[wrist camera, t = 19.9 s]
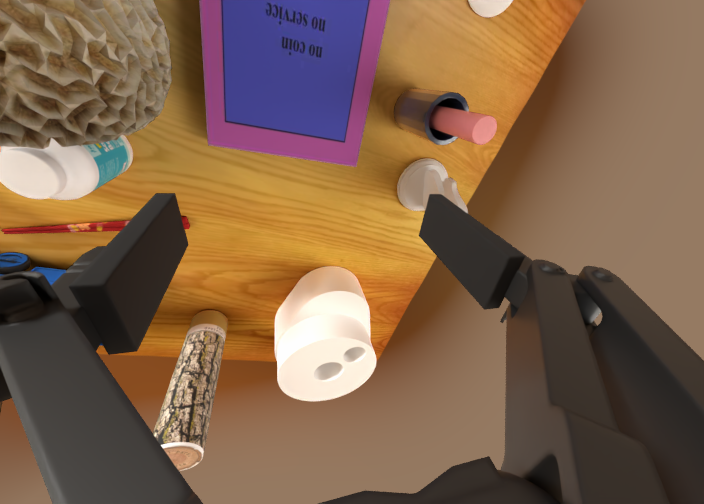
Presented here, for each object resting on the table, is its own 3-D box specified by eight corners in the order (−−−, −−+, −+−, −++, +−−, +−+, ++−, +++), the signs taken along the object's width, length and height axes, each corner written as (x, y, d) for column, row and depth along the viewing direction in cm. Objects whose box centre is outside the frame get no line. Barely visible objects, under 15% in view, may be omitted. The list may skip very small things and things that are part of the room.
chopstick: (2, 225, 39) (-3, 229, 38) (186, 215, 44) (185, 218, 43) (11, 237, 40) (7, 240, 40) (190, 226, 45) (189, 229, 45)
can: (397, 86, 41) (432, 89, 32) (433, 91, 43) (475, 95, 34) (390, 129, 44) (419, 143, 35) (424, 132, 46) (460, 146, 37)
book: (415, -124, 28) (356, 167, 43) (404, -109, 31) (351, 162, 46) (184, -243, 22) (208, 145, 37) (193, -211, 25) (212, 140, 39)
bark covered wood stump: (200, 303, 54) (155, 444, 33) (234, 314, 57) (211, 448, 37) (186, 326, 56) (135, 471, 35) (219, 335, 59) (190, 473, 39)
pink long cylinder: (407, 100, 42) (478, 114, 27) (423, 102, 43) (501, 116, 28) (403, 120, 44) (468, 143, 29) (419, 121, 44) (490, 145, 30)
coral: (105, 218, 28) (130, 139, 18) (-270, 85, 17) (-745, -312, 7) (185, 78, 38) (229, -21, 28) (-14, -61, 27) (-56, -305, 17)
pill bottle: (139, 132, 37) (81, 157, 26) (130, 181, 40) (75, 222, 29) (67, 103, 34) (-34, 118, 23) (63, 159, 37) (-28, 196, 26)
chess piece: (449, 154, 49) (507, 181, 37) (443, 205, 55) (491, 243, 42) (397, 162, 48) (439, 192, 35) (396, 213, 53) (432, 255, 41)
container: (379, 271, 60) (403, 316, 49) (347, 348, 72) (361, 399, 60) (286, 260, 53) (290, 310, 42) (268, 348, 65) (267, 405, 54)
